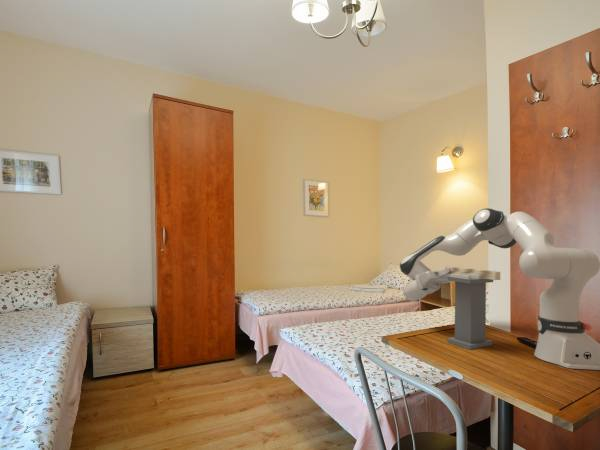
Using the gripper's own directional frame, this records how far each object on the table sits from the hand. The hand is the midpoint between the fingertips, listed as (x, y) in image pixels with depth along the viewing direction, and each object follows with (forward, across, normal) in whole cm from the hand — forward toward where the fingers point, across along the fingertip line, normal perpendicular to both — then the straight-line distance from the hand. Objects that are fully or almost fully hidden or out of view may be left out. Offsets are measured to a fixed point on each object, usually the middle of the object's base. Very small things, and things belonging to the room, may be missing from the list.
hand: (453, 269), depth 150 cm
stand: (-5, +4, -30) cm, 30 cm away
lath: (+6, 0, -6) cm, 9 cm away
